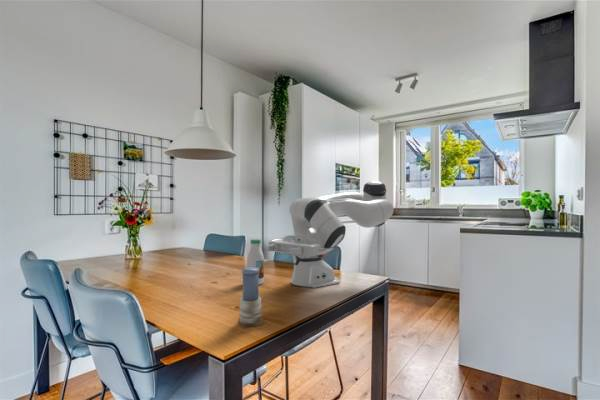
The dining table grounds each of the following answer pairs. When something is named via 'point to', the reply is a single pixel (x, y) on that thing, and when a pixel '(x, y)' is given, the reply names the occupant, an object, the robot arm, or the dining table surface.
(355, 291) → the dining table surface
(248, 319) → the stand
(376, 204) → the robot arm
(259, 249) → the milk bottle
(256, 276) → the blue canister
